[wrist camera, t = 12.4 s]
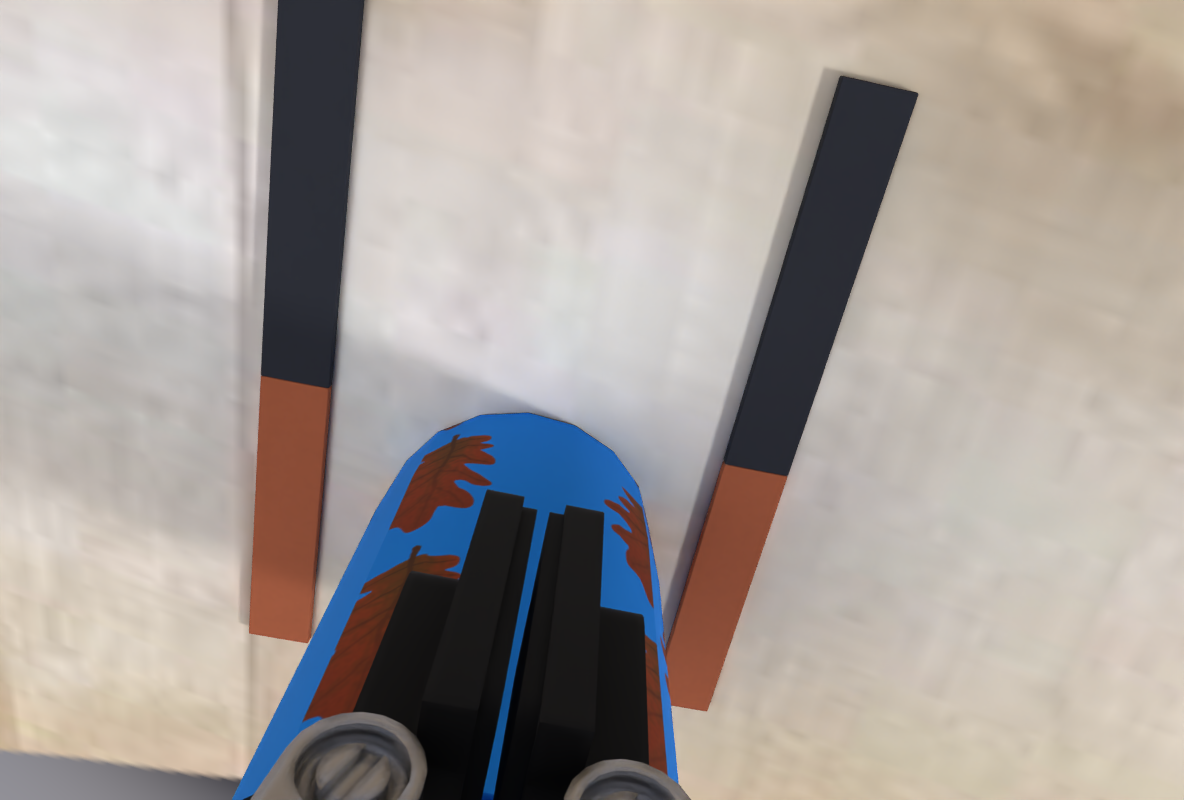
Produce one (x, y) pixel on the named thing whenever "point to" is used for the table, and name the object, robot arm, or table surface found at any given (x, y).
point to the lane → (310, 310)
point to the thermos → (439, 546)
